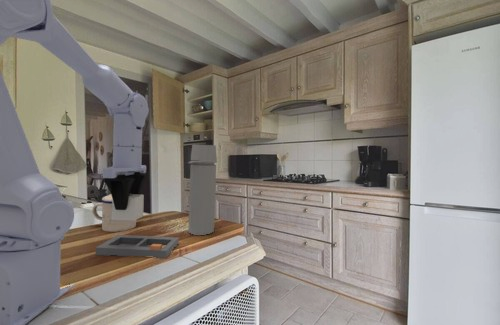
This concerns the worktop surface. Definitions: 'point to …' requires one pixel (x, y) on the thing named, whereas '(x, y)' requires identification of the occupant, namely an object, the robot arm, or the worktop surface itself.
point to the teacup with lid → (107, 217)
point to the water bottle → (202, 189)
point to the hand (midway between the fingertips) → (126, 207)
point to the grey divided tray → (138, 246)
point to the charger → (130, 209)
